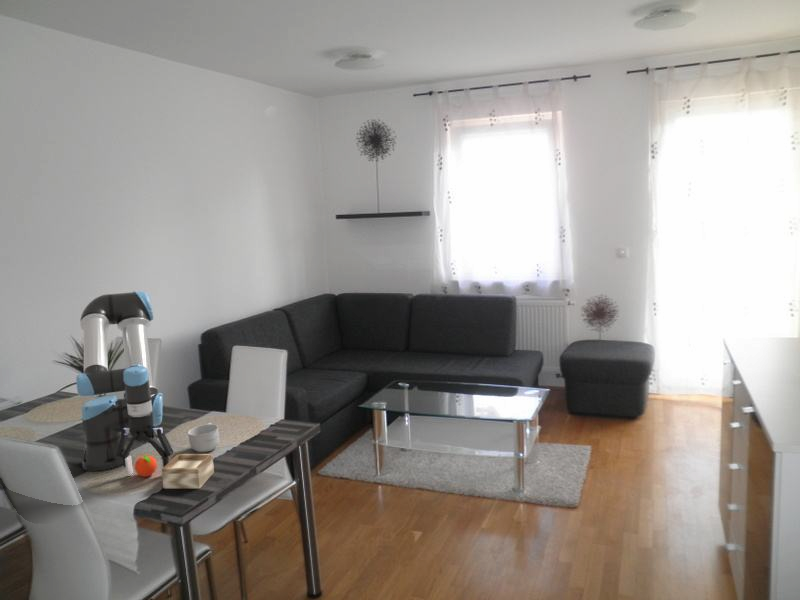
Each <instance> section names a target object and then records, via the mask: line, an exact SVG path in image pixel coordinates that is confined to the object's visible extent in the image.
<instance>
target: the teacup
mask: <svg viewBox="0 0 800 600" xmlns="http://www.w3.org/2000/svg"><path fill="white" fill-rule="evenodd" d="M187 435H188V439H189V445H190V447H191V449H192V450H194V451H196V452H197V453H200V454H203V453H208V452H211V451H213V450H215V449H216V447H217V446H218V445H219V443H220V433H219V425H217V424H213V423H212V422H207V424H201V425H197V426H195V427H193V428H191V429H189V430H188V431H187Z"/></svg>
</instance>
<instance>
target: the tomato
mask: <svg viewBox="0 0 800 600" xmlns="http://www.w3.org/2000/svg"><path fill="white" fill-rule="evenodd" d="M157 467H158V462H157V460H156V459H155V458H154V457H153V456H151V455H147V454H146V455H142V456H140V457H139V458H137V460H136V461H135V464H134V470H135V472H136V474H137V475H138V476H139V477H150V476H152V475H153V474H154V473H155V471H156V470H157Z"/></svg>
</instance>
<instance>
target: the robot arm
mask: <svg viewBox="0 0 800 600" xmlns="http://www.w3.org/2000/svg"><path fill="white" fill-rule="evenodd" d="M152 308H153V307H152V304H151V301H150V297H149V294H148V293H147V292H146V291H132V292H123V293H111V294H108V293H107V294H106V293H105V294H102V295H99V296H97V297H95V298H94V299H93V300H91V301H90V302H89V303H87V305H86V306H85V308H84V309H83V311H82V313H81V315H80V328H81V329H82V331H83V373H80V374H77V375H76V378H75V379H76V380H75V381H76V390H77V393H78V396H80V397H94V396H97V395H103V396H98V397H95V398H93V399H90V400H88V401H87V402H86V403H84V405H82V407H81V420H82V426H83V427H82V428H83V437H84V442H85V444H84V445H85V447H84V450H83V451H84V452H83V456H82V462H81V463H82V468H83V470H85V471H88V472H89V471H90V472H97V471H96V470H102V471H105V470H104V469H108V470H110V469H109V468H112V467H115V466H118V465H120V466H122V465H123V467H124V468H125V470H126V471H125V472H126V477H127V476H130V475H131V474H132V473H133V474H134V468H133V460H132V458H133V457H132V455H130V453H131V451H132V450H133V448H134V446H135V445H136V443H137V442H147V443H148V444H150V445H151V446H152V447H153V449H155V451H156V452H157V453H158V454H159V456H160V458H159V463H160V473H161V475H162V468H163V467H165V466H166V465H167V464H168V463H169V462H170V461H169V460H170V459H169V457H170V456H171V455H173V454H174V449H173V448H172V446H171V443H170V442H169V440H168V438H167V436H166V434H165V429H164V426H160V425H161V423H162V421H163V407H164V406H163V402H164V401H163V400H164V399H163V398H164V397H163V393H162V392H159V391H158V387H156V386H154V385H153V376H152V367H151V366H152V365H151V359H150V348H149V340H148V331H147V329H148V328H149V327H150V325H151V322H152V321H153V320H154V314H153V309H152ZM110 325H117V326H116V327H117V329H118V330H120V331H121V333H122V341H123V343H122V344H123V352H124V353H123V354H124V365H125V368H119V369H111V370H109V362H108V357H109V356H108V336H107V330H108V328H109V327H110ZM118 392H119V393H120V392H123V398H120V399H119V398H118V397H117V396H116V395H113V394H111V395H110V393H118ZM104 394H105V395H104ZM106 394H109V395H106ZM156 426H157V427H156ZM158 426H160V427H158ZM129 435H131V436H132V437H131V439H130V440H129V443H128V444H127V440H128V437H129ZM157 438H158V439H157ZM126 445H127V446H126ZM121 464H122V465H121ZM118 467H119V466H118ZM115 468H116V467H115ZM112 469H113V468H112ZM133 474H132V475H133ZM132 475H131V476H132ZM131 476H130V477H131Z"/></svg>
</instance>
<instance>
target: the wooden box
mask: <svg viewBox="0 0 800 600" xmlns="http://www.w3.org/2000/svg"><path fill="white" fill-rule="evenodd" d="M213 457H214V456H213V453H178V454H176V455H175V456H174V457H173V458H172V459H171V460H170V461H169V463H168V464H167V465H166V466H165V467H163V468H162V474H161V479H162V487H163V489H201V488H202V487H203V485H204V484H205V483H206V482H207V481H208V480H209V479H210V478H211V476H212V475H213V474H214V473H215V465H214V458H213Z"/></svg>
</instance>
